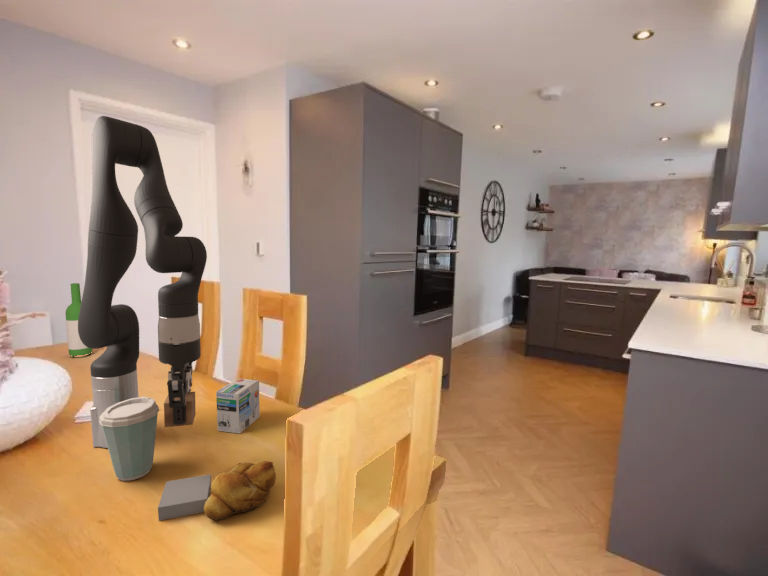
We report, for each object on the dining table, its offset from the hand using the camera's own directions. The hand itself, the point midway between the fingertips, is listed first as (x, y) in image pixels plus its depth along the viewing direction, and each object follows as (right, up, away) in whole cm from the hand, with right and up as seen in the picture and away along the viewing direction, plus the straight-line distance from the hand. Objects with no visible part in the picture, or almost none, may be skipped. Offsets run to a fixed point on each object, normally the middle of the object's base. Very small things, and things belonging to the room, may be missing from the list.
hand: (182, 416), depth 82 cm
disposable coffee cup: (-12, -13, +3) cm, 18 cm away
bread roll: (+14, -15, -6) cm, 21 cm away
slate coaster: (+4, -14, -6) cm, 16 cm away
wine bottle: (-84, -2, +83) cm, 118 cm away
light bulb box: (+2, -10, +26) cm, 28 cm away
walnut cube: (0, -1, 0) cm, 1 cm away
